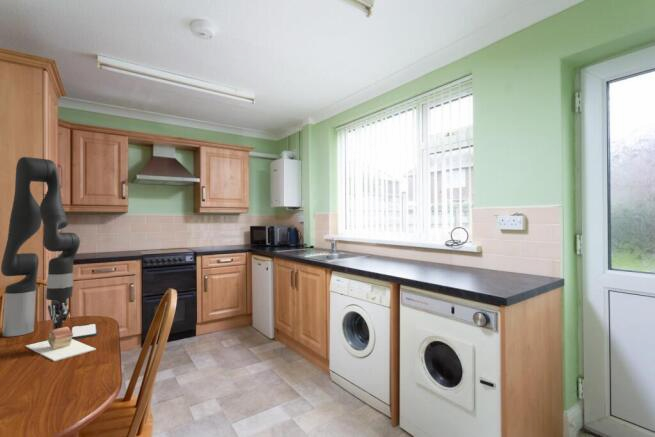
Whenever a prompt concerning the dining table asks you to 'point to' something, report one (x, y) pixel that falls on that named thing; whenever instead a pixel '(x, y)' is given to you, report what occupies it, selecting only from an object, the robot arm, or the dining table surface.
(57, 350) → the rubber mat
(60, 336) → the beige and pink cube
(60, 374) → the dining table surface
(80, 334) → the phone case
